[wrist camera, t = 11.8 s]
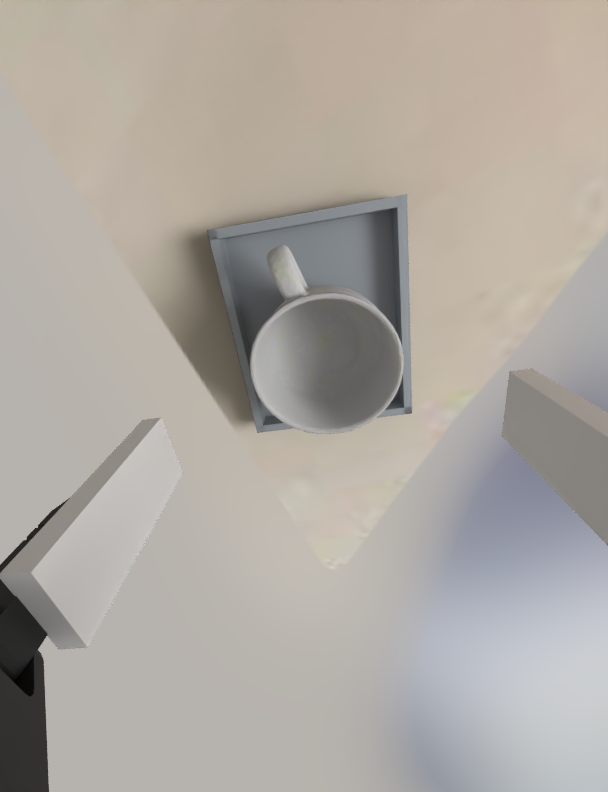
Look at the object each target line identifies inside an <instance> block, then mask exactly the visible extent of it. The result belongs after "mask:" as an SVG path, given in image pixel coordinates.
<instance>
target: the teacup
mask: <svg viewBox="0 0 608 792" xmlns="http://www.w3.org/2000/svg"><path fill="white" fill-rule="evenodd" d="M267 264H268V267H269V270H270V272H271V275H272V277H273V280H274V282H275V284H276V286H277V288H278V290H279V291H280V293H281V295H282V296H283V298H284V299H285V301H284V302H283V303H282V304H281V305H280V306H279V307H278V308H277V309H276V311H275V312H274V313H273V314H272V315H271V316H270V317H269V318H268V319H267V320H266V321H265V323H264V324H263V325H262V326H261V328H260V330H259V331H258V333H257V335H256V337H255V340H254V342H253V345H252V349H251V354H250V372H251V378H252V383H253V386H254V389H255V391H256V393H257V395H258V397H259V399H260V400H261V402H262V403H263V405H264V406H265V407H266V408H267V409H268V410H269V411H270V413H272V414H273V415H274V416H275V417H276V418H278V419H279V420H280V421H282V422H283V423H285V424H287V425H288V426H290V427H293V428H295V429H298V430H301V431H304V432H308V433H315V434H337V433H343V432H349V431H352V430H354V429H357V428H359V427H362V426H364V425H366V424H367V423H369V422H371V421H372V420H374V419H375V418H376V417H378V416H379V415H380V414H381V413H382V412H383V411H384V410H385V409H386V408H387V407H388V406H389V404H390V403H391V401H392V400H393V398H394V396H395V395H396V393H397V391H398V389H399V386H400V383H401V380H402V375H403V367H404V355H403V349H402V345H401V341H400V339H399V337H398V334H397V332H396V331H395V329H394V327H393V325H392V324H391V323H390V321H389V320H388V319H387V318H386V317H385V315H384V314H383V313H382V312H381V311H380V310H379V309H378V308H377V307H376V306H375V305H374V304H373V303H372V302H370V301H369V300H368V299H367V298H365V297H364V296H362V295H361V294H359V293H357V292H355V291H353V290H351V289H348V288H344V287H340V286H334V285H322V286H315V287H311V288H310V287H308V285H307V283H306V282H305V280H304V278H303V276H302V274H301V271H300V269H299V267H298V265H297V263H296V261H295V259H294V257H293V255H292V253H291V251H290V249H289V248H288V247H287V246H285V245H279V246H277V247H275V248H273V249H272V250H270V251H269V253H268V254H267Z"/></svg>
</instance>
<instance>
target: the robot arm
mask: <svg viewBox="0 0 608 792" xmlns="http://www.w3.org/2000/svg"><path fill="white" fill-rule="evenodd" d="M502 437H503V438H504V439H505V440H506V441H507V442H508V443H509V444H510V445H511V446H512V447H513V448H514V449H515V450H516V451H517V452H518V453H519V454H520V455H521V456H522V457H523V458H524V460H525V461H526V462H527V463H528V464H529V465H530V466H531V467H532V468H533V469H534V470H535V471H536V472H537V473H538V474H539V475H540V476H541V477H542V478H543V479H544V480H545V481H546V482H547V483H548V484H549V485H550V486H551V487H552V488H553V489H554V491H555V492H556V493H557V494H558V495H559V496H560V497H561V498H562V499H563V500H564V501H565V502H566V503H567V504H568V505H569V506H570V507H571V508H572V509H573V510H574V511H575V512H576V513H577V514H578V515H579V516H580V517H581V518H582V519H583V520H584V522H586V524H587V525H588V526H589V527H590V528H591V529H592V530H593V531H594V532H595V533H596V534H597V535H598V536H599V537H600V538H601V539H602V540H603V541H604V542H605V543H606V544H607V545H608V413H607V412H605V411H604V410H602V409H600V408H598V407H597V406H595V405H593V404H592V403H590V402H588V401H586V400H585V399H583V398H581V397H580V396H578V395H576V394H575V393H573V392H571V391H569V390H568V389H566V388H564V387H562V386H561V385H559V384H557V383H556V382H554V381H552V380H551V379H549V378H547V377H545V376H544V375H542V374H540V373H539V372H537V371H535V370H534V369H524V370H517V371H510V372H509V380H508V389H507V397H506V405H505V414H504V423H503V432H502ZM182 474H183V472H182V469H181V467H180V464H179V462H178V459H177V457H176V454H175V452H174V449H173V446H172V444H171V441H170V439H169V436H168V434H167V431H166V429H165V426H164V423H163V421H162V418H155V419H147V420H142V421H141V422H140V423H139V425H138V426H137V427H136V428H135V429H134V430H133V431H132V432H131V433H130V434H129V435H128V436H127V438H126V439H125V440H124V441H123V442H122V443H121V444H120V445H119V446H118V447H117V448H116V449H115V450H114V451H113V452H112V454H111V455H110V456H109V457H108V458H107V459H106V460H105V461H104V462H103V463H102V464H101V465H100V466H99V468H98V469H97V470H96V471H95V472H94V473H93V474H92V475H91V476H90V477H89V478H88V479H87V480H86V481H85V482H84V484H83V485H82V486H81V487H80V488H79V489H78V490H77V491H76V492H75V493H74V494H73V495H72V497H71V498H69V499H68V500H66V501H65V502H63V503H62V504H61V505H59V506H58V507H57V508H55V509H54V510H52V511H51V512H50V513H49V515H47V517H46V518H45V519H44V520H43V521H42V522H41V523H40V524H39V525H38V528H35V529H34V530H33V531H32V532H31V533H30V534H29V535H28V536H27V540H24V541H23V542H22V543H21V544H20V545H19V546H18V547H17V548H16V549H15V550H14V551H13V552H12V553H11V554H10V555H9V556H8V557H7V558H6V559H5V561H4V562H3V563H2V564H1V565H0V792H49V784H48V760H47V737H46V713H45V712H46V710H45V686H44V665H43V664H44V661H43V658H42V655H41V653H40V652H39V651H38V648H39V647H40V645H41V644H42V642H43V641H44V639H45V638H46V636H48V637H49V638H50V639H51V641H52V642H53V643H54V644H55V645H56V647H57V648H58V649H71V648H72V649H73V648H86V647H88V646H89V644H90V642H91V641H92V639H93V637H94V635H95V633H96V631H97V629H98V628H99V626H100V624H101V622H102V620H103V619H104V617H105V615H106V613H107V611H108V610H109V608H110V606H111V604H112V602H113V600H114V599H115V597H116V595H117V593H118V591H119V589H120V588H121V586H122V584H123V582H124V580H125V578H126V577H127V575H128V573H129V571H130V569H131V568H132V566H133V564H134V562H135V560H136V558H137V557H138V555H139V553H140V551H141V549H142V547H143V546H144V544H145V542H146V540H147V538H148V536H149V535H150V533H151V531H152V529H153V527H154V525H155V524H156V522H157V520H158V518H159V516H160V515H161V513H162V511H163V509H164V507H165V505H166V504H167V502H168V500H169V498H170V496H171V494H172V493H173V491H174V489H175V487H176V485H177V483H178V481H179V480H180V478H181V476H182Z"/></svg>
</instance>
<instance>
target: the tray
mask: <svg viewBox="0 0 608 792" xmlns="http://www.w3.org/2000/svg"><path fill="white" fill-rule="evenodd" d="M207 233H208V237H209V241H210V245H211V249H212V253H213V257H214V261H215V265H216V269H217V273H218V277H219V281H220V285H221V289H222V293H223V297H224V301H225V305H226V309H227V313H228V317H229V321H230V325H231V329H232V333H233V337H234V341H235V345H236V349H237V353H238V357H239V361H240V365H241V369H242V373H243V377H244V381H245V385H246V389H247V393H248V397H249V401H250V405H251V409H252V413H253V417H254V421H255V425H256V429H257V433H259V432H267V431H275V430H283V429H291V428H293V427H290V426H288V425H287V424H285V423H283V422H282V421H280V420H279V419H278V418H276V417H275V416H274V415H273V414H272V413H270V411H269V410H268V409H267V408H266V407H265V406H264V405H263V403H262V402H261V400H260V399H259V397H258V395H257V393H256V391H255V389H254V386H253V383H252V378H251V372H250V354H251V349H252V345H253V342H254V340H255V337H256V335H257V333H258V331H259V330H260V328H261V326H262V325H263V324H264V323H265V321H266V320H267V319H268V318H269V317H270V316H271V315H272V314H273V313H274V312H275V311H276V309H277V308H278V307H279V306H280V305H281V304H282V303H283V302H284V301H285V299H284V298H283V296H282V295H281V293H280V291H279V290H278V288H277V286H276V284H275V282H274V280H273V277H272V275H271V272H270V270H269V267H268V264H267V254H268V253H269V251H270V250H272V249H273V248H275V247H277V246H279V245H285V246H287V247H288V248H289V249H290V251H291V253H292V255H293V257H294V259H295V261H296V263H297V265H298V267H299V269H300V271H301V274H302V276H303V278H304V280H305V282H306V283H307V285H308V287H310V288H311V287H315V286H322V285H334V286H340V287H344V288H348V289H351V290H353V291H355V292H357V293H359V294H361V295H362V296H364V297H365V298H367V299H368V300H369V301H370V302H372V303H373V304H374V305H375V306H376V307H377V308H378V309H379V310H380V311H381V312H382V313H383V314H384V315H385V317H386V318H387V319H388V320H389V321H390V323H391V324H392V325H393V327H394V329H395V331H396V332H397V334H398V337H399V339H400V341H401V345H402V349H403V355H404V367H403V375H402V380H401V383H400V386H399V389H398V391H397V393H396V395H395V396H394V398H393V400H392V401H391V403H390V404H389V406H388V407H387V408H386V409H385V410H384V411H383V412H382V413H381V414H380V415H379V416H378V417H386V416H394V415H402V414H410V413H412V391H411V348H410V304H409V261H408V217H407V194H406V195H400V196H395V197H389V198H384V199H378V200H372V201H367V202H361V203H356V204H350V205H345V206H339V207H334V208H328V209H323V210H317V211H311V212H306V213H300V214H295V215H289V216H284V217H278V218H273V219H267V220H262V221H256V222H251V223H245V224H239V225H234V226H228V227H223V228H217V229H212V230H207ZM378 417H376V418H378Z"/></svg>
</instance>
